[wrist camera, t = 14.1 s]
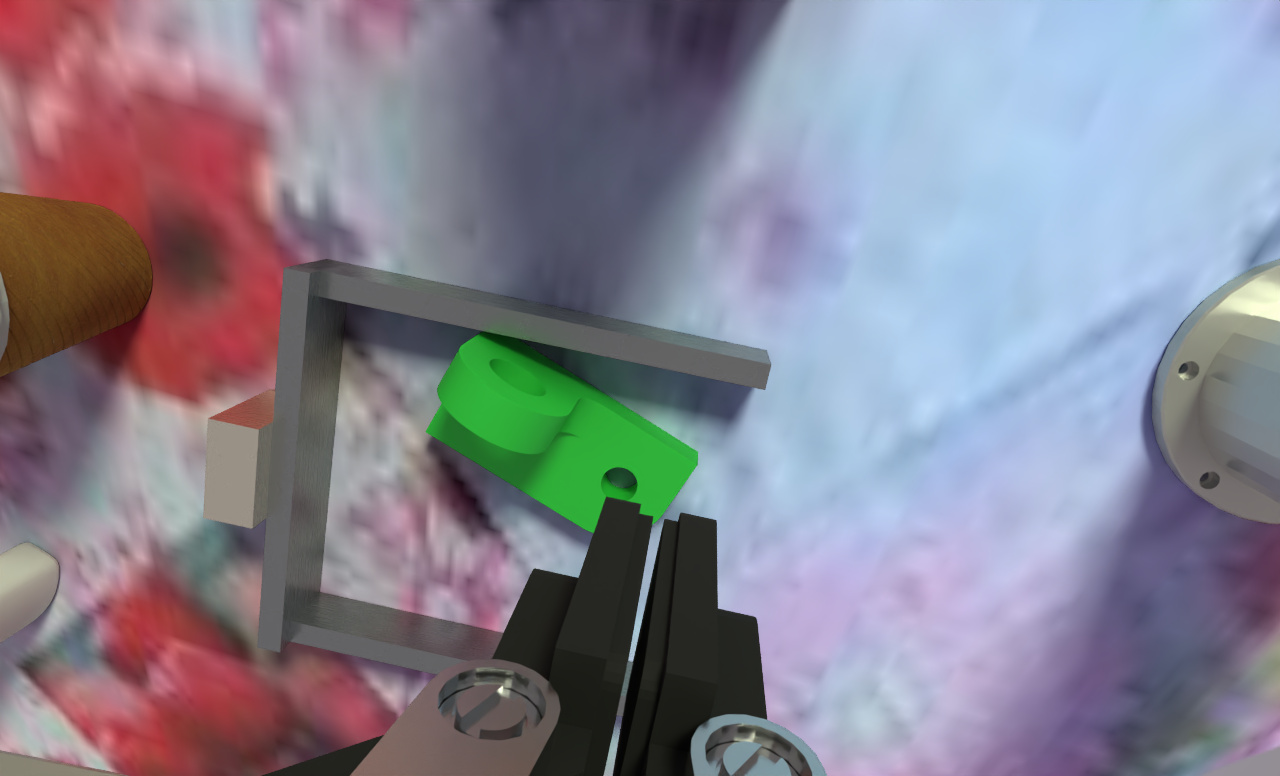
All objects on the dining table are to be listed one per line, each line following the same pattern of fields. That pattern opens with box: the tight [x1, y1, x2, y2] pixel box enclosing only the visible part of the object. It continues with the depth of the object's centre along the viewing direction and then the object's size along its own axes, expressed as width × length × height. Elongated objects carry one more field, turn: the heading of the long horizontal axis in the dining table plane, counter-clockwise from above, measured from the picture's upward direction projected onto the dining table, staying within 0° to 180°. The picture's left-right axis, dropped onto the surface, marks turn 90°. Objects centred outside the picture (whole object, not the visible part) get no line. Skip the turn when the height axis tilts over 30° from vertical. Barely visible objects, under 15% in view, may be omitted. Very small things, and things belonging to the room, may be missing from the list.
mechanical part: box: [426, 331, 698, 533], centre depth 36 cm, size 12×6×8 cm, turn 58°
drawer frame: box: [203, 259, 771, 717], centre depth 38 cm, size 24×20×5 cm
